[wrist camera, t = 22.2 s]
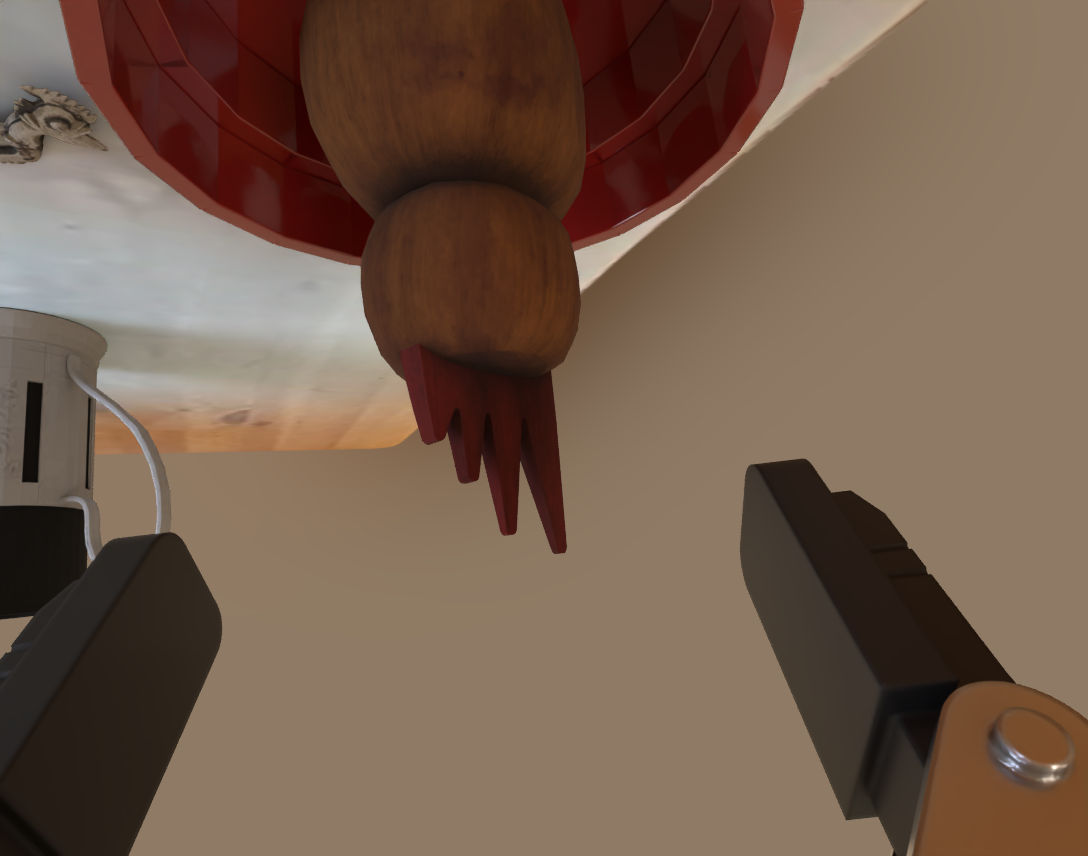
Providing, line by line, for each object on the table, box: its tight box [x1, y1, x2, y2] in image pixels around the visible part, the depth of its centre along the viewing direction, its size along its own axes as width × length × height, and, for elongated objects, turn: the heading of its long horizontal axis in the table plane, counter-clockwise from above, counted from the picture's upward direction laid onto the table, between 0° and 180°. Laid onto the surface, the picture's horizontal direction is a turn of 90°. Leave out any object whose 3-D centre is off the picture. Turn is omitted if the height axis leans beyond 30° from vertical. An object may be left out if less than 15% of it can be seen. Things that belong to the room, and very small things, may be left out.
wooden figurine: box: [299, 0, 586, 554], centre depth 15 cm, size 7×6×15 cm
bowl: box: [59, 0, 804, 266], centre depth 16 cm, size 15×15×6 cm
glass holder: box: [0, 308, 171, 620], centre depth 34 cm, size 9×14×15 cm, turn 101°
